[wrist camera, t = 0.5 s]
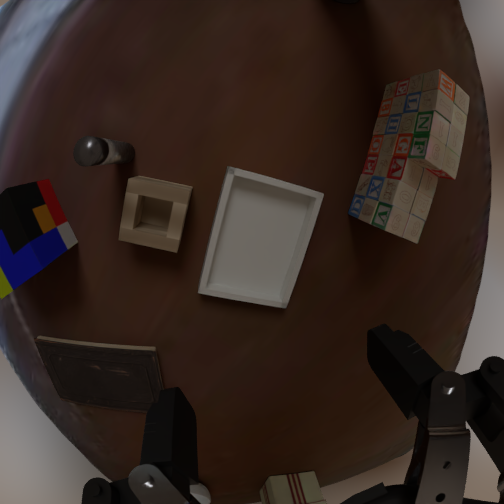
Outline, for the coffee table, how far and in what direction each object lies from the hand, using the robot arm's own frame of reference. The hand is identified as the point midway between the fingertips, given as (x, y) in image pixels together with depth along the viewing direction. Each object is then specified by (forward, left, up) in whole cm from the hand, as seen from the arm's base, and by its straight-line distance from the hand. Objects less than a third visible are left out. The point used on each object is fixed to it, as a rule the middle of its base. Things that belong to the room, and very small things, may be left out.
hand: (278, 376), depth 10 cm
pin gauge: (-6, -15, -27) cm, 31 cm away
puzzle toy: (+6, -27, -27) cm, 39 cm away
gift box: (+74, +33, -27) cm, 85 cm away
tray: (+1, +4, -27) cm, 27 cm away
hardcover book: (+31, -16, -27) cm, 44 cm away
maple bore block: (0, -9, -27) cm, 28 cm away
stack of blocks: (-16, +19, -27) cm, 37 cm away
